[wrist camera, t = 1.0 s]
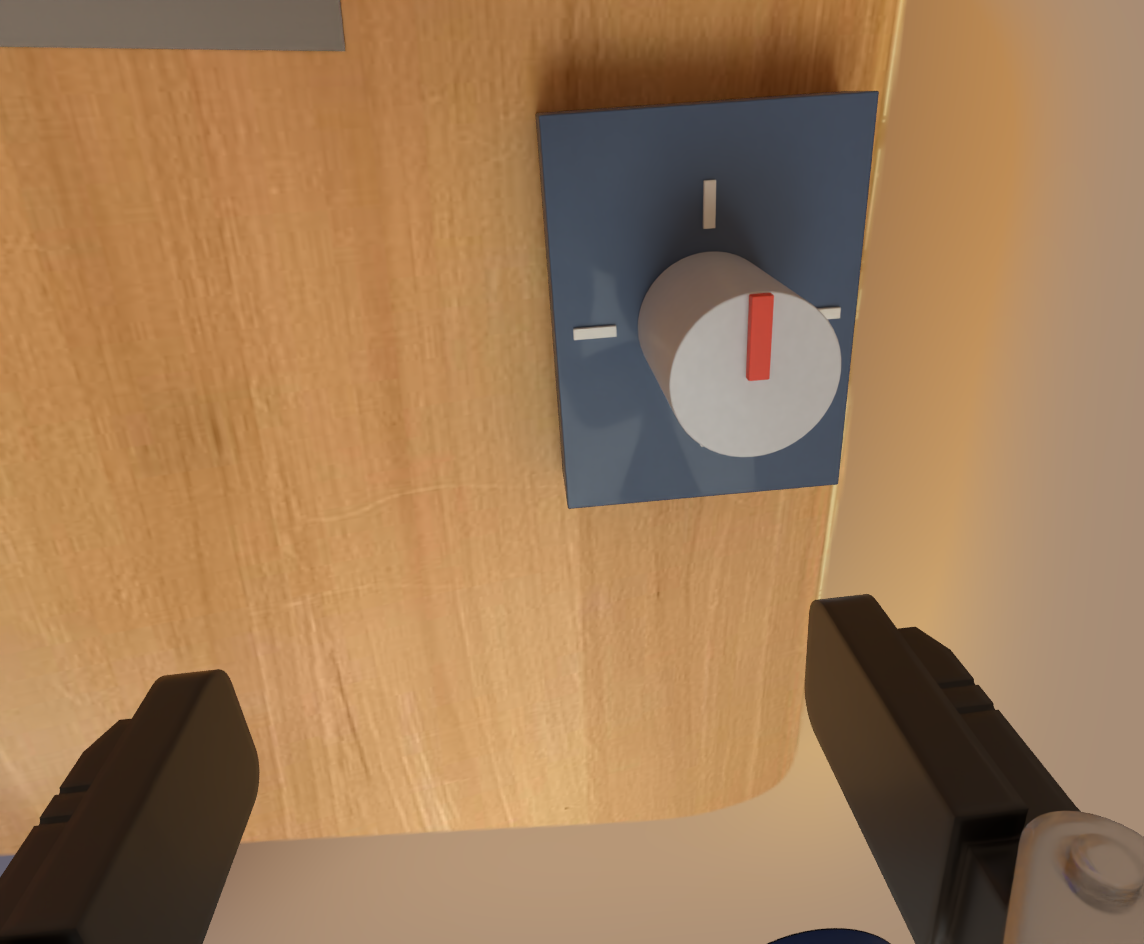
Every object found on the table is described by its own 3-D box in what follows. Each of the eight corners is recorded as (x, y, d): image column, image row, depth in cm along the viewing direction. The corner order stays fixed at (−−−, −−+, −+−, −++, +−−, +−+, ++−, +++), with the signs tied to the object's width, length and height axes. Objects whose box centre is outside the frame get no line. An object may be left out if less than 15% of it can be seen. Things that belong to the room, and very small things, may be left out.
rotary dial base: (809, 450, 31) (840, 486, 28) (562, 472, 30) (568, 511, 28) (839, 91, 25) (881, 90, 22) (535, 113, 25) (538, 115, 22)
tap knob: (772, 383, 26) (838, 455, 21) (639, 395, 26) (671, 469, 21) (780, 245, 24) (855, 286, 19) (635, 257, 24) (670, 301, 19)
